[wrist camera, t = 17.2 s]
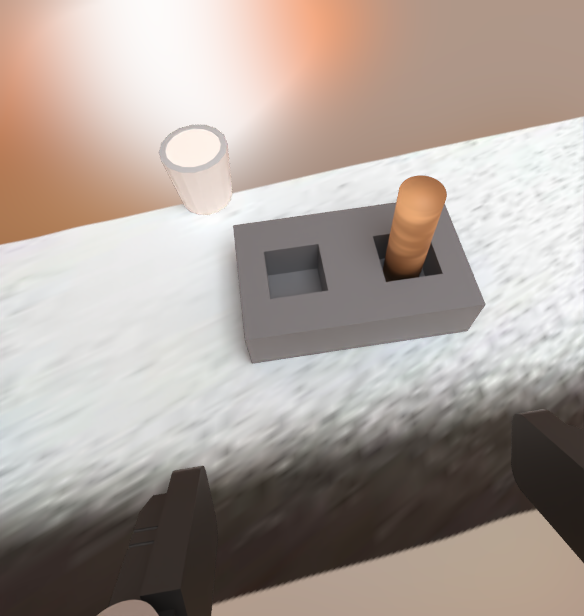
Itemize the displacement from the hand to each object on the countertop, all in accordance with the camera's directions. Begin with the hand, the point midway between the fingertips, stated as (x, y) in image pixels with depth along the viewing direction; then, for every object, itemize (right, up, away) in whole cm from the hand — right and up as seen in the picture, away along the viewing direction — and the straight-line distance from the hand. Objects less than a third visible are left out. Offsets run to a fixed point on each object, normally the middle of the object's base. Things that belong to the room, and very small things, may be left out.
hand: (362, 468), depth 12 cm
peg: (+8, +7, +32) cm, 34 cm away
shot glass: (-11, +17, +40) cm, 45 cm away
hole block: (+4, +6, +33) cm, 33 cm away
